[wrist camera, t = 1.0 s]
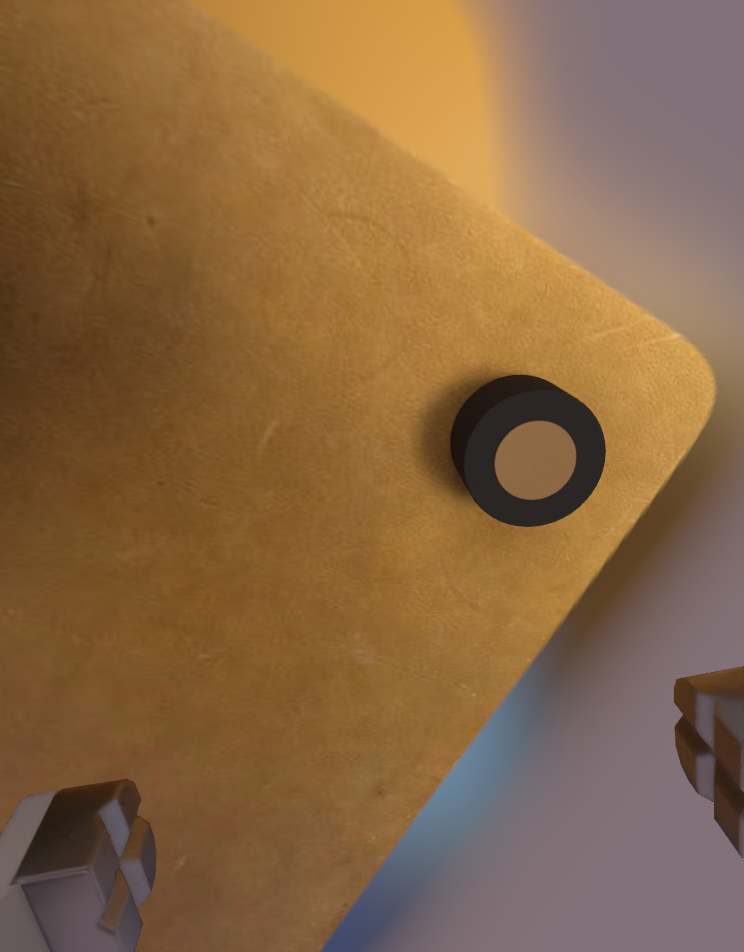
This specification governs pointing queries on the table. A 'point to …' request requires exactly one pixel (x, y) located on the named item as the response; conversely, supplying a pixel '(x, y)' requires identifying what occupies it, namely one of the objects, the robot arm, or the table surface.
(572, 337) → the table surface
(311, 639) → the table surface
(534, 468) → the tape
